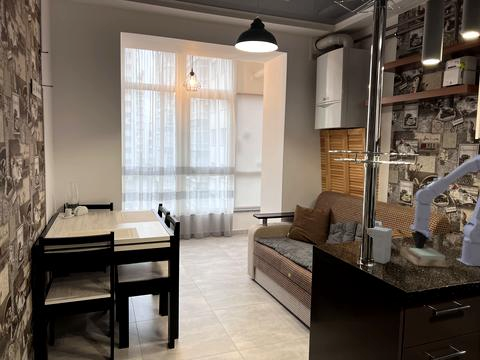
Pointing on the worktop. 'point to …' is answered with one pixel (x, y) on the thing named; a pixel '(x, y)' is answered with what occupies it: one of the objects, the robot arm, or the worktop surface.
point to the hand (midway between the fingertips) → (419, 250)
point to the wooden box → (423, 262)
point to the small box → (381, 243)
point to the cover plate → (428, 254)
